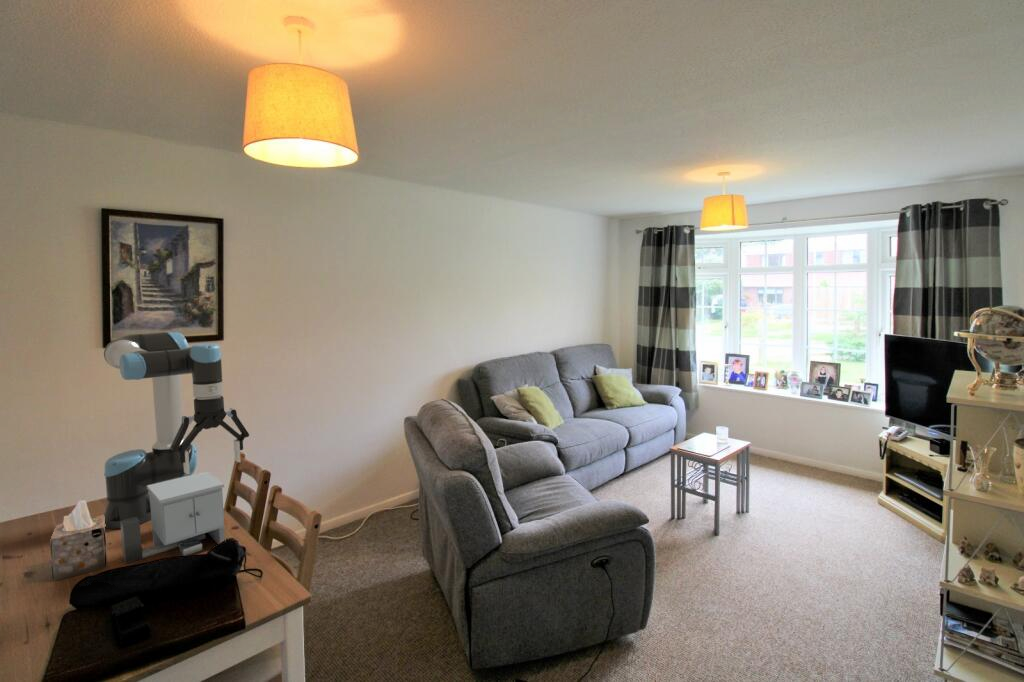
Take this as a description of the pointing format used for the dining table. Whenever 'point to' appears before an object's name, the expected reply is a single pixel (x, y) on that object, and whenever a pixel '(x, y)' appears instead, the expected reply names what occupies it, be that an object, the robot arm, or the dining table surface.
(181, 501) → the sideboard cabinet
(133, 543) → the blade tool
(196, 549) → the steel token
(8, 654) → the dining table surface
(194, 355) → the robot arm
